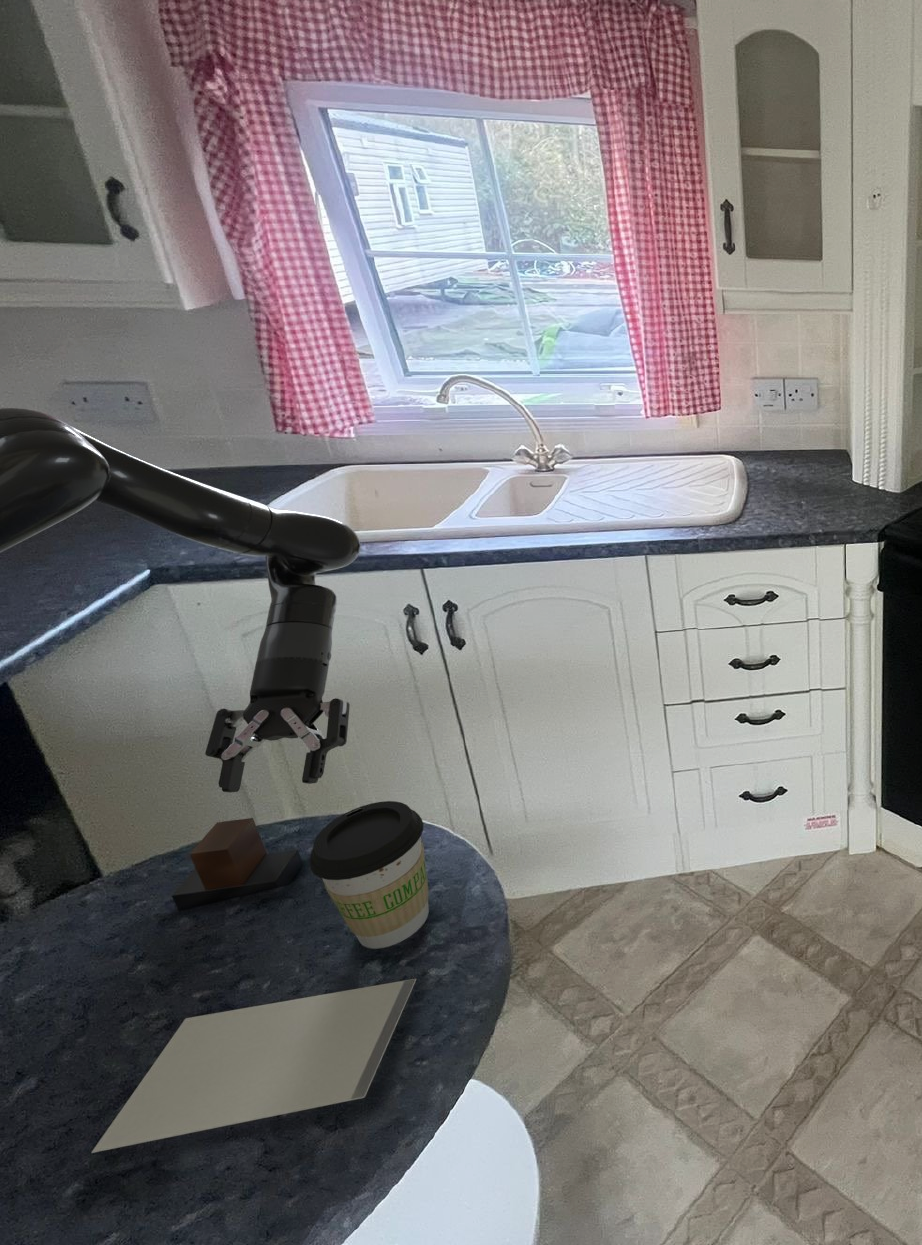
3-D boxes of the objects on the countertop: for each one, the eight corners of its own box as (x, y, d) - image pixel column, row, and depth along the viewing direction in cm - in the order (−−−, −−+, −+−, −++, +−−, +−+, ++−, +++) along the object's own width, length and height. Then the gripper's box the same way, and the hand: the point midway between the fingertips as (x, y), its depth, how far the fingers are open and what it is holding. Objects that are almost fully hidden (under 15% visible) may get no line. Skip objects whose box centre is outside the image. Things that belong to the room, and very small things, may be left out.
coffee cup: (357, 989, 80) (317, 882, 75) (332, 934, 86) (293, 830, 80) (461, 930, 87) (433, 827, 82) (432, 882, 93) (403, 784, 87)
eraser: (178, 911, 88) (153, 858, 85) (206, 877, 92) (184, 826, 89) (281, 896, 90) (260, 844, 87) (303, 864, 95) (284, 813, 92)
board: (97, 1163, 65) (90, 1153, 64) (190, 1028, 76) (185, 1018, 75) (368, 1108, 70) (364, 1097, 69) (419, 988, 81) (416, 978, 80)
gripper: (211, 660, 98) (181, 792, 92) (340, 649, 101) (319, 777, 95) (248, 673, 105) (223, 797, 99) (368, 663, 108) (350, 782, 102)
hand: (270, 787), depth 97 cm, fingers open, 8 cm apart
